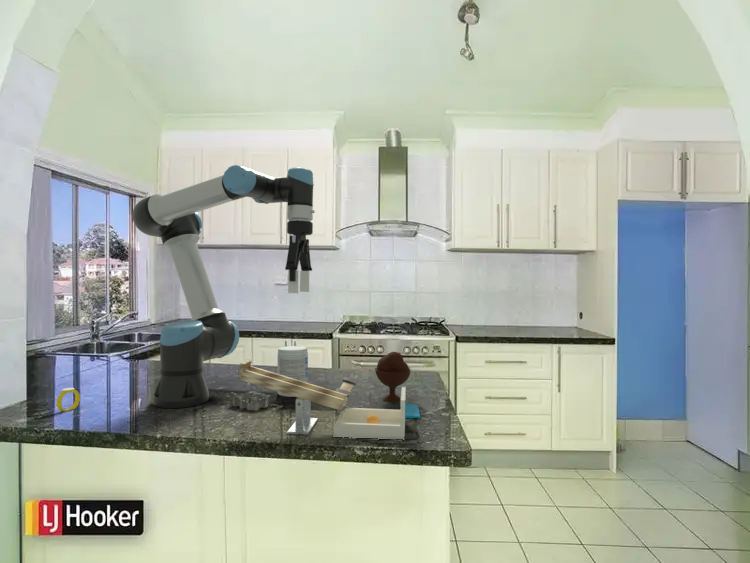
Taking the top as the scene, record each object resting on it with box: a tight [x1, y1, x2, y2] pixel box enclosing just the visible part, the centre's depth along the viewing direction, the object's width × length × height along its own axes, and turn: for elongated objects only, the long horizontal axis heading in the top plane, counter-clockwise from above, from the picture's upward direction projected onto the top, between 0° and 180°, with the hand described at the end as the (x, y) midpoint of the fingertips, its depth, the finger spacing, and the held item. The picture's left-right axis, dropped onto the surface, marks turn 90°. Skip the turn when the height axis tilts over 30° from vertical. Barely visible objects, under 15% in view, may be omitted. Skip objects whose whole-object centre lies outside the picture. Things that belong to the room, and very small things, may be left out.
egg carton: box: [230, 390, 271, 411], centre depth 131 cm, size 11×8×4 cm
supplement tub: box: [277, 345, 309, 398], centre depth 145 cm, size 10×10×15 cm
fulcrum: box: [286, 397, 319, 436], centre depth 113 cm, size 5×11×8 cm, turn 175°
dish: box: [332, 386, 407, 441], centre depth 112 cm, size 17×13×9 cm
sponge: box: [405, 403, 422, 419], centre depth 127 cm, size 2×12×6 cm
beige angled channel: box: [237, 359, 358, 411], centre depth 124 cm, size 28×26×4 cm
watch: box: [56, 387, 81, 413], centre depth 125 cm, size 6×3×6 cm, turn 165°
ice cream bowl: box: [374, 351, 411, 403], centre depth 139 cm, size 11×11×15 cm
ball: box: [367, 415, 379, 424], centre depth 112 cm, size 3×3×3 cm
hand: (299, 292), depth 135 cm, fingers open, 13 cm apart
